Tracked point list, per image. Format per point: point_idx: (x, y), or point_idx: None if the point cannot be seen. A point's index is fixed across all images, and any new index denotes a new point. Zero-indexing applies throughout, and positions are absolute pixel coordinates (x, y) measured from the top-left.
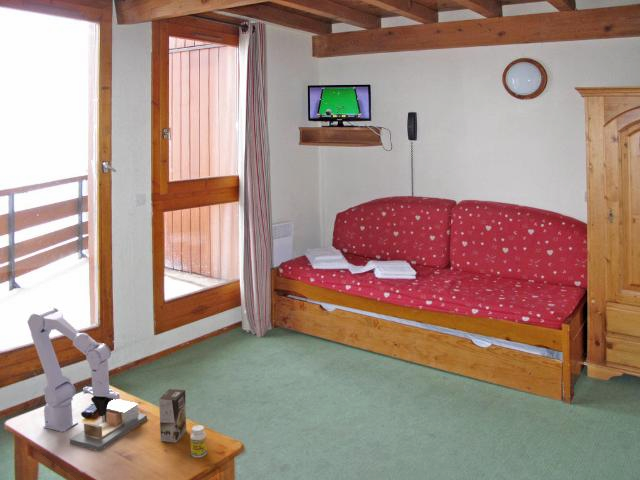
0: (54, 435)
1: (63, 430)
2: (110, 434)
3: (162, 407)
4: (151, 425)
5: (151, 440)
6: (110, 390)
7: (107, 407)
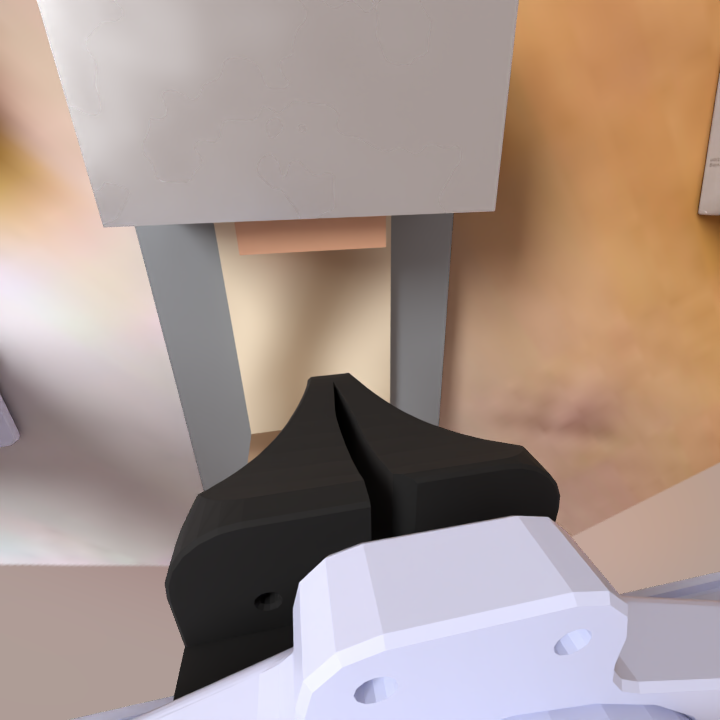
0: (21, 484)
1: (12, 437)
2: (400, 350)
3: None
4: (558, 6)
5: (639, 233)
6: (706, 675)
7: (201, 200)
